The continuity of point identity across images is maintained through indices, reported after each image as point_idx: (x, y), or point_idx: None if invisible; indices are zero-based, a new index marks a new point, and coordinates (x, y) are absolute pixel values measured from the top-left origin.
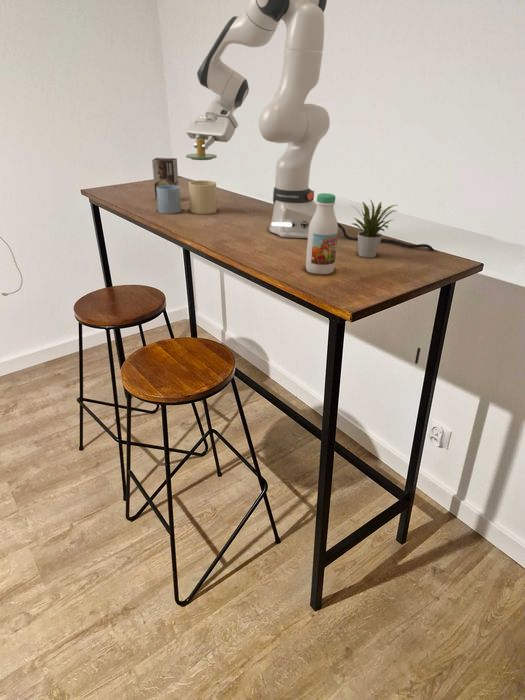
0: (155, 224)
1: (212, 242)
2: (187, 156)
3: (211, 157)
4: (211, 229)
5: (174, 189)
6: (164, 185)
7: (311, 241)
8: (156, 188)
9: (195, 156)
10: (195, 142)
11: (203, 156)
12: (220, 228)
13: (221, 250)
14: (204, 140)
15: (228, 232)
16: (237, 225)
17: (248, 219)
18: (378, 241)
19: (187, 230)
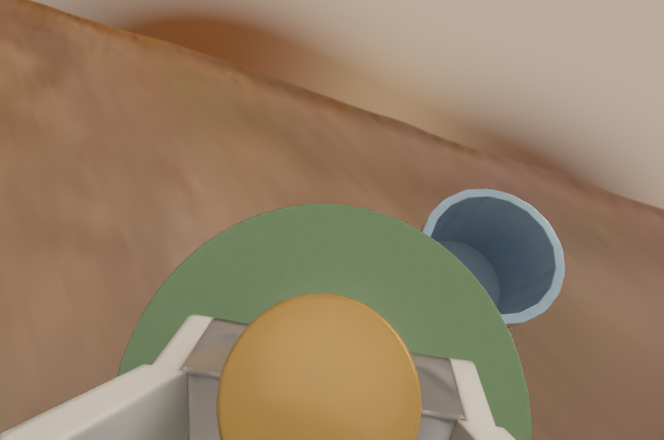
0: (345, 107)
1: (77, 55)
2: (402, 222)
3: (132, 336)
4: (138, 154)
5: (422, 230)
6: (551, 281)
7: None
8: (526, 205)
9: (316, 252)
10: (464, 398)
11: (237, 309)
12: (112, 180)
13: (27, 19)
14: (220, 411)
15: (65, 154)
16: (63, 249)
17: (44, 368)
18: None
19: (208, 107)
